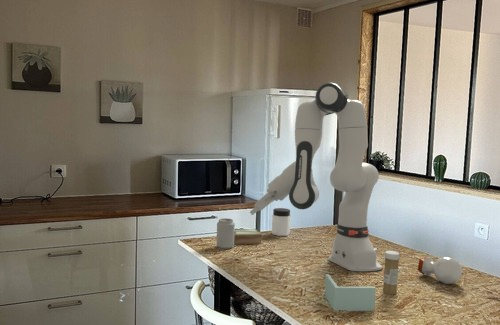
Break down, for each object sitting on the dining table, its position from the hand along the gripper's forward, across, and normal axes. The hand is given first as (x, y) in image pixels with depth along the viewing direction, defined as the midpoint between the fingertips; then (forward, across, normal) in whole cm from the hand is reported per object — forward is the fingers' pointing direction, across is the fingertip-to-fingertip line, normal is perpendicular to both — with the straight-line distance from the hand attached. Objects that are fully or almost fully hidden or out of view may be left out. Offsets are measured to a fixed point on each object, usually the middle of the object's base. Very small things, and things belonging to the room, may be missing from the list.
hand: (254, 211), depth 197 cm
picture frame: (+16, +13, -7) cm, 22 cm away
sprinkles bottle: (-27, -34, -50) cm, 66 cm away
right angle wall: (-17, -47, -42) cm, 65 cm away
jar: (+7, +32, -16) cm, 36 cm away
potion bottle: (-39, -15, -63) cm, 75 cm away
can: (+20, 0, -3) cm, 21 cm away
